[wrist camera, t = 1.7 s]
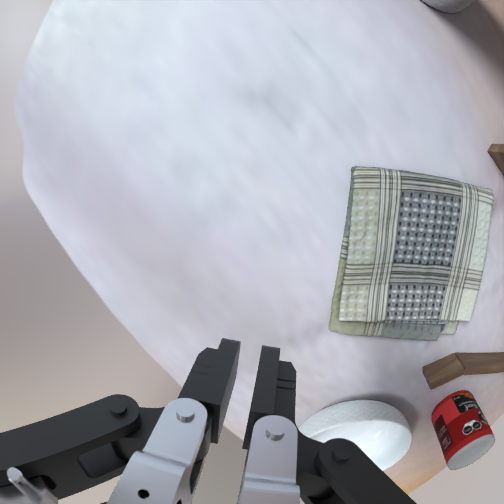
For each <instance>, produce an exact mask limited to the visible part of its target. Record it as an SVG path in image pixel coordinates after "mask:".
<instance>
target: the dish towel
mask: <svg viewBox="0 0 504 504" xmlns="http://www.w3.org/2000/svg"><path fill="white" fill-rule="evenodd" d="M493 201H494V195H493V193H492V190H491V189H489V188H482V187H477V186H474V185H470V184H466V183H462V182H459V181H456V180H452V179H448V178H443V177H437V176H432V175H426V174H420V173H414V172H409V171H403V170H393V169H385V168H376V167H352V168H351V184H350V192H349V201H348V207H347V216H346V224H345V229H344V236H343V240H342V246H341V253H340V261H339V267H338V272H337V279H336V285H335V289H334V296H333V299H332V306H331V310H332V312H331V317H330V323H329V331H334V332H337V333H340V334H347V335H361V336H362V335H367V336H381V337H389V338H397V339H415V340H437V338H438V336H439V334H455V332H456V330H457V326H458V322H459V321H468V322H470V321H471V318H472V314H473V311H474V307H475V304H476V300H477V296H478V292H479V288H480V283H481V279H482V274H483V269H484V264H485V259H486V254H487V248H488V241H489V232H490V223H491V214H492V204H493Z"/></svg>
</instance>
